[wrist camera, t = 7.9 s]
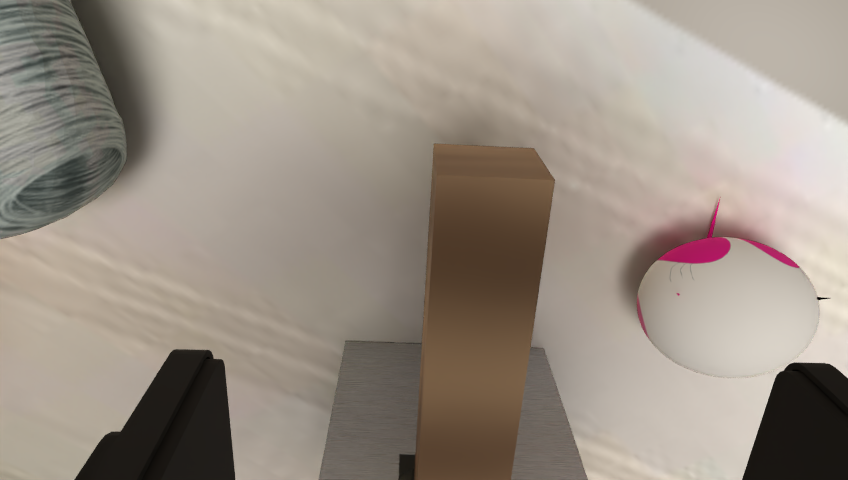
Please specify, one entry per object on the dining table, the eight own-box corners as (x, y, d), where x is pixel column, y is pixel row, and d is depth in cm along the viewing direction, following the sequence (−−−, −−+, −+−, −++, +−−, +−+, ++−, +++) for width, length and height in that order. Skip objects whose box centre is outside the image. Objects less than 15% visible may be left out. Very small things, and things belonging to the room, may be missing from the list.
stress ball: (746, 219, 31) (844, 184, 25) (757, 376, 30) (865, 383, 23) (604, 212, 31) (667, 174, 24) (608, 372, 29) (676, 378, 23)
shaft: (478, 581, 26) (485, 654, 23) (408, 579, 26) (406, 652, 23) (534, 148, 18) (555, 180, 15) (433, 143, 18) (436, 174, 15)
